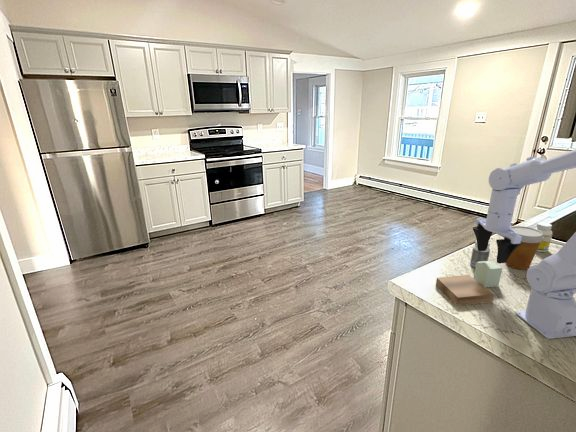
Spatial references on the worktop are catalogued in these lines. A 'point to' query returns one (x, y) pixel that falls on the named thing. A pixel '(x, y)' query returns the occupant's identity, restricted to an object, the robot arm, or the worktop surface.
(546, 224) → the supplement bottle
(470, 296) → the walnut base
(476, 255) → the pill bottle
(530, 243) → the disposable coffee cup
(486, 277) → the sage block
